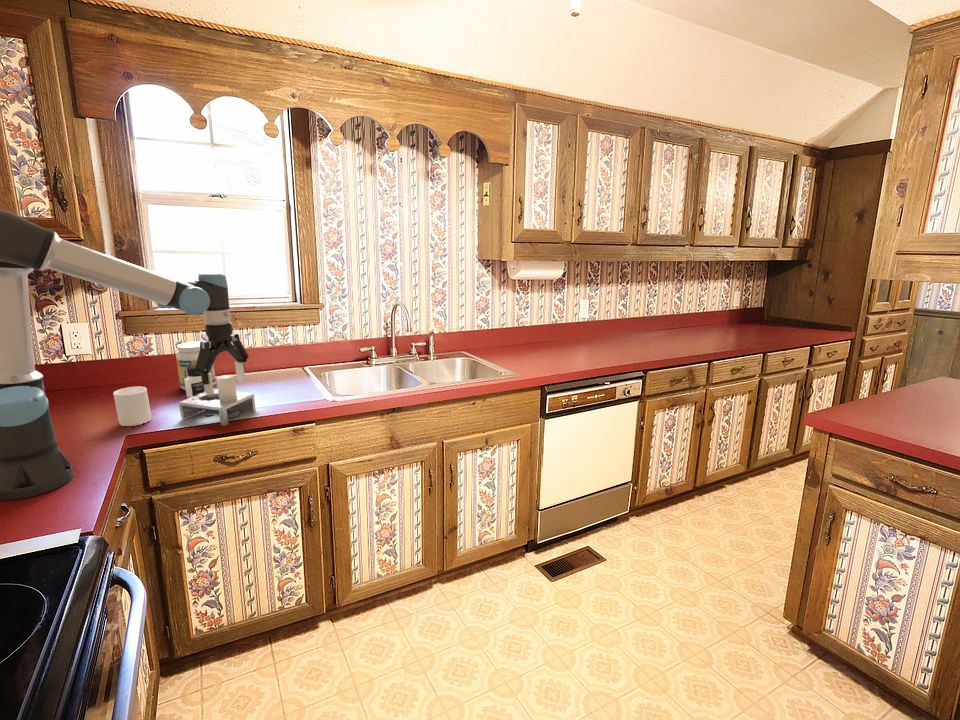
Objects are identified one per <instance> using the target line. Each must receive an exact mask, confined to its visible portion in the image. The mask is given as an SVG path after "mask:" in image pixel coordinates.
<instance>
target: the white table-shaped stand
mask: <svg viewBox="0 0 960 720" xmlns="http://www.w3.org/2000/svg"><path fill="white" fill-rule="evenodd" d="M213 389H214V394H206V393H205V392H203V393H200V394H198V395H195V396H193V397H190V398H188V397H187V398H185V399H183V400H181V401H178V405H179V412H180V413H179V414H180V419H181V418H182V419H184V418H187V417H189V418H191V417H190V416H192V417H194V416H196V415H198V414H197V413H199V412H201V411H203V410H205V411H207V410H206V409H208V410H213V411H218V414H219V421H220V423H219V424H220V426H224V427H225V426H227V425H229V418H227V410H226V409H228V408H230V407H232V406H233V409H236V410H241V411H249V412H254V411H256V400H255V394H254V393H251V392H243V391H236V393H237V399H236V400H234V401H230V402H221V401H219V394H218V388H213ZM203 412H204V411H203ZM201 413H202V412H201ZM195 414H196V415H195ZM199 414H200V413H199ZM193 415H194V416H193ZM182 419H181V420H182ZM187 419H188V418H187Z"/></svg>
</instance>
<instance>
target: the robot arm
mask: <svg viewBox="0 0 960 720" xmlns="http://www.w3.org/2000/svg"><path fill="white" fill-rule="evenodd" d="M35 270H37V271H44V270H52V271H56V272H58V273H60V274H61V273H62V274H64V275H68V276H70V277H74V278H77V279H81V280H83V281H86V282H90V283H93V284H96V285H100V286H102V287H104V288H105V287H106V288H108V289H112V290H116V291H118V292H121V293H126V294H128V295H131V296H134V297H137V298H141V299H144V300H147V301H151V302H154V303H155V304H156V306H157V307H158V308H160V309H176V310H178V311H182V312H184V313H186V314H189V315H201V314H203V321H204V323H205V324H204V329H205V330H204V331H205V336H207V337H208V340H207V341H202V340H201V341H199V342H200V351H199V355H198V359H197V363H196V367H195V373H197V374H201V377H202V383H203V384H204V389H205V393H206V394H214V389H215V388H214V386H213V382H212V374H211V373H209V372H210V370H211V367H212V365H213V364H215V361H216V358H217V357H218V356H219V355H220V353H221V354H222V353H223V352H228V353H229V354H230V355H231V357H233V358H234V360H235V362H234V367H235V375H236V382H246V374H245V369H246V366H245V363H246V362H247V361H248V359H249V355H248V351H247V350H246V348H245V346H244V345H243V343H242V341H241V339H240V335H239V334H238V333H233V325H232V324H233V323H232V322H231V321H232V317H231V309H230V299H229V298H230V297H229V287H228V282H227V277H226V274H224V273H223V272H219V271H217V272H213V271H211V272H210V271H207V272H200V273H198V278H197V279H195V280H184V281H183V280H182V281H181V280H178V279H175V278H174V277H173V278H172V277H170V276H167V275H164V274H162V273H158V272H155V271H153V270H150V269H146V268H144V267H142V266H140V265H136V264H133V263H130V262H127V261H125V260H122V259H120V258H116V257H114V256H112V255H107V254H105V253H103V252H99V251H96V250H94V249H91V248H88V247H86V246H83V245H81V244H77V243H74V242H71V241H69V240H65V239H63V238H60V237H59V235H58V233H57V232H56V231H54V230H51V229H48V228H45V227H43V226H40V225H38V224H36V223H33V222H31V221H30V220H27V219H25V218H24V217H22V216H20V215H19V214H17V213H15V212H12V211H9V210H6V209H1V208H0V501H13V500H23V499H27V498H32V497H37V496H40V495H43V494H46V493H48V492H51V491H53V490H56V489H58V488H60V487H62V486H64V485H66V484H67V483H68V482H70V481H71V480H72V479H73V477H74V476H75V473H74V469H73V466H72V464H71V462H70V461H69V460H68V458H67V457H66V456H65V455H64V454H63V452H62V451H61V449H60V448H59V446H58V445H59V444H58V441H57V437H56V433H55V432H56V431H55V429H54V424H53V421H52V416H51V412H50V407H49V405H50V403H49V399H48V397H47V396H46V393H45V384H44V381H45V380H44V374H42V373H41V372H40V371H38V370H36V365H35V355H34V343H33V342H34V341H33V330H32V317H31V307H30V294H29V293H30V292H29V282H28V281H29V279H28V276H29V274H30V273H32V272H33V271H35ZM199 369H200V370H199ZM205 369H206V370H205Z"/></svg>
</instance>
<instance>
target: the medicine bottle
mask: <svg viewBox="0 0 960 720" xmlns="http://www.w3.org/2000/svg"><path fill="white" fill-rule="evenodd" d="M195 367H196V365H191V366H189V367H187V374H188V378H185V379H184V382H185V388H186V390H185V393H186V397H187V399H188V398H190V397H193V396H195V395H198V394H200V393H203V392H205V389H204V384H203V383H202V377H201V374H197V373H195ZM199 370H200V369H199ZM205 370H206V369H205Z"/></svg>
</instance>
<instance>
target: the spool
mask: <svg viewBox="0 0 960 720" xmlns="http://www.w3.org/2000/svg"><path fill="white" fill-rule="evenodd" d="M215 378H216V387H217V389H218V394H219V401H221V402H230V401H234V400H236V399H237V393H236V392H237V385H236V379H235V375H233V374H224V375H223V374H222V375H219V376H216V377H215ZM226 410H227V418H228V419H233V418H236V417H239V415H240V413H239V409H233V406H232V407H230V408H228V409H226Z"/></svg>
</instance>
